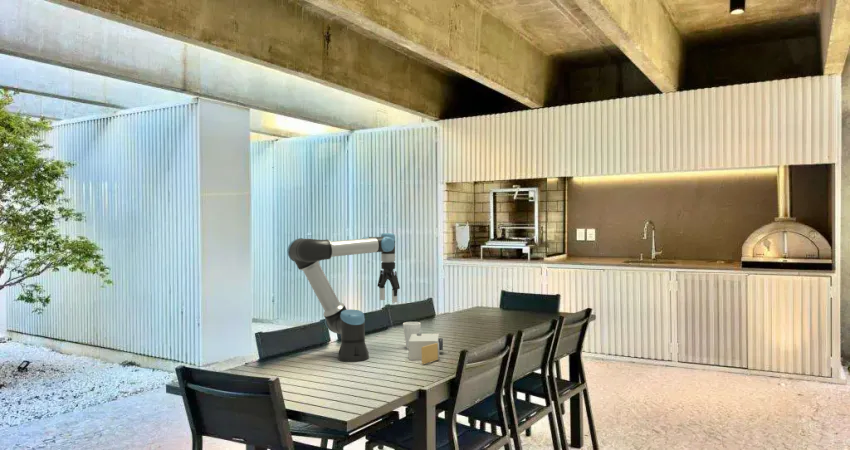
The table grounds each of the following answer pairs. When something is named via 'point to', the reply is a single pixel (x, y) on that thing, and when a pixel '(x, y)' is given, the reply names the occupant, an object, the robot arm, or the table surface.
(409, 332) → the foam cup
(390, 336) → the table surface
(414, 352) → the housing
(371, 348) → the table surface
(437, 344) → the door
